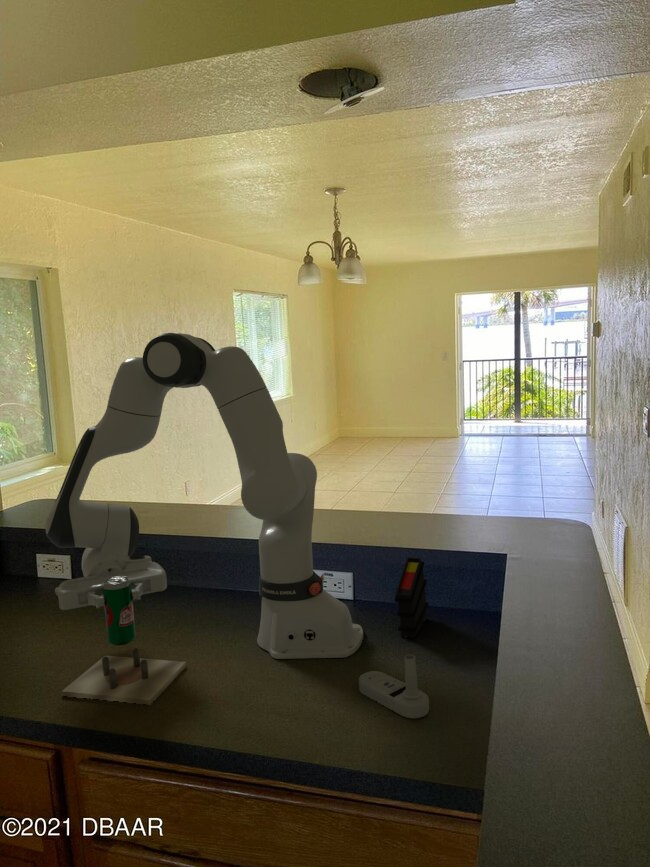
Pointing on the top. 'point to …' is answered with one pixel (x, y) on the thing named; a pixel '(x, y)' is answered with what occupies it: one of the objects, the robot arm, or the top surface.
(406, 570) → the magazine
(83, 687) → the can tray
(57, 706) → the top surface
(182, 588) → the top surface
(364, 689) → the electronic device
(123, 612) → the soda can
